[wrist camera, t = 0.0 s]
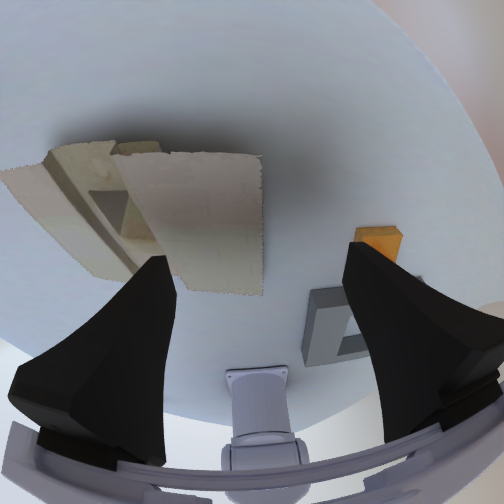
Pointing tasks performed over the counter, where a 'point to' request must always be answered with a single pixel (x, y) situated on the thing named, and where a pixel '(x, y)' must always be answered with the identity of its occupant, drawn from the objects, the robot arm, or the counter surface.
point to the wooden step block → (381, 239)
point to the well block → (330, 329)
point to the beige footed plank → (150, 211)
